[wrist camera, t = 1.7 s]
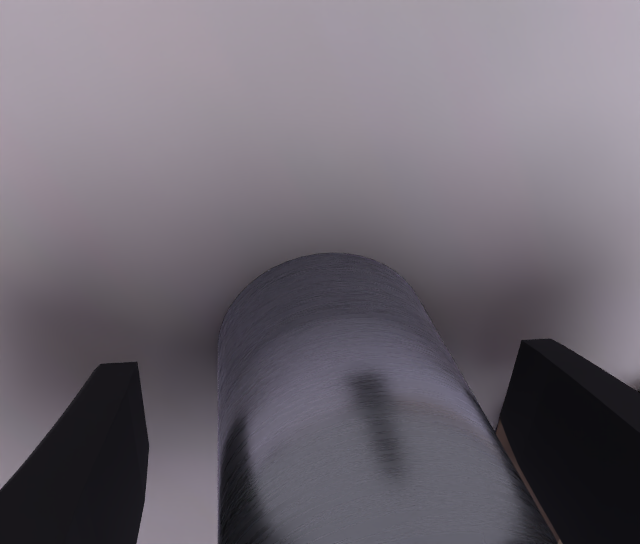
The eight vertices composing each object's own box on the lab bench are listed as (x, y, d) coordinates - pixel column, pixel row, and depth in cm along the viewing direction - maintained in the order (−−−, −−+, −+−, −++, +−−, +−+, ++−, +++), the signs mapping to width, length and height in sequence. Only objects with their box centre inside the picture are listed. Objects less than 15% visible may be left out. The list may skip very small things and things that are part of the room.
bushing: (410, 415, 13) (533, 712, 8) (221, 429, 13) (224, 765, 7) (439, 249, 11) (633, 512, 6) (213, 255, 10) (209, 561, 5)
